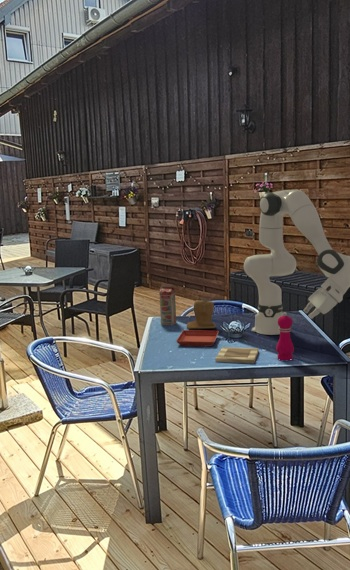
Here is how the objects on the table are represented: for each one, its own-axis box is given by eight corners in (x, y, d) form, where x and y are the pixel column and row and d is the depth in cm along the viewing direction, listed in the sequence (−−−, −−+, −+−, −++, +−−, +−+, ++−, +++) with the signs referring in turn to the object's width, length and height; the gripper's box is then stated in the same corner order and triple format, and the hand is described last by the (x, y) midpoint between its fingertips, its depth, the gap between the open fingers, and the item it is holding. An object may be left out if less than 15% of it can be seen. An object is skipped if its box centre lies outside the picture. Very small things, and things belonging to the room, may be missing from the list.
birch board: (222, 350, 229) (222, 346, 229) (258, 351, 224) (258, 348, 224) (215, 361, 214) (215, 357, 213) (253, 363, 209) (253, 359, 209)
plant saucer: (214, 348, 234) (214, 341, 233) (176, 347, 237) (175, 340, 237) (219, 337, 251) (219, 330, 250) (183, 336, 255) (182, 330, 254)
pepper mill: (281, 355, 219) (281, 309, 215) (296, 358, 214) (297, 311, 211) (273, 359, 213) (272, 313, 210) (288, 362, 209) (288, 315, 205)
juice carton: (164, 322, 284) (163, 283, 280) (176, 322, 282) (174, 283, 278) (160, 324, 278) (159, 285, 274) (172, 325, 276) (170, 285, 272)
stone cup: (215, 325, 273) (214, 297, 271) (216, 330, 262) (215, 302, 259) (187, 325, 274) (186, 298, 272) (186, 331, 262) (185, 303, 260)
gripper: (320, 281, 218) (296, 304, 220) (332, 290, 197) (306, 315, 200) (330, 291, 218) (307, 314, 220) (343, 300, 198) (318, 326, 200)
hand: (307, 314), depth 210 cm, fingers open, 8 cm apart
